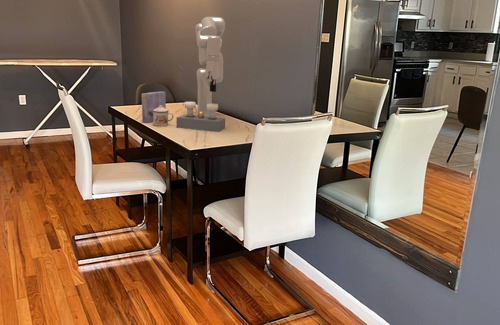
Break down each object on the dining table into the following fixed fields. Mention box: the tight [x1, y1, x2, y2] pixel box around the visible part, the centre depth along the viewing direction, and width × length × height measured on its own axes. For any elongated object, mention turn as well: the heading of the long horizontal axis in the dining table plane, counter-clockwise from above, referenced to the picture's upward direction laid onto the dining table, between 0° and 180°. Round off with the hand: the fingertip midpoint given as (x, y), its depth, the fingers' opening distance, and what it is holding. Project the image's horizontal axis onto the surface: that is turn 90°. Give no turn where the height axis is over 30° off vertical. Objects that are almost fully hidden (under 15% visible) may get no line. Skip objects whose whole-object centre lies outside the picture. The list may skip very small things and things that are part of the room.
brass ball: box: [197, 111, 204, 118], centre depth 270 cm, size 4×4×4 cm
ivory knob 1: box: [184, 101, 197, 118], centre depth 271 cm, size 6×6×9 cm
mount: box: [176, 113, 226, 133], centre depth 271 cm, size 12×26×6 cm, turn 73°
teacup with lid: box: [153, 105, 175, 127], centre depth 274 cm, size 12×9×12 cm
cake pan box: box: [141, 91, 167, 124], centre depth 285 cm, size 19×5×18 cm, turn 152°
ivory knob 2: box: [207, 103, 219, 120], centre depth 267 cm, size 6×6×9 cm
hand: (212, 91), depth 264 cm, fingers closed
